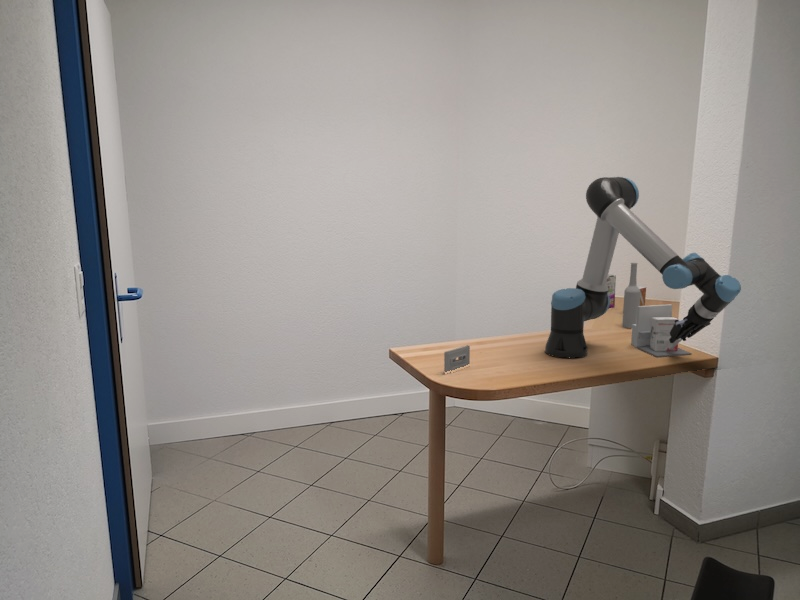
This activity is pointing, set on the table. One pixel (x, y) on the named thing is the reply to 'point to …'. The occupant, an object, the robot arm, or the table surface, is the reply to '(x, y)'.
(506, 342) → the table surface
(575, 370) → the table surface
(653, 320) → the ink box
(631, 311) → the bottle
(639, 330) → the grey display stand
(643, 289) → the small box
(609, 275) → the candy bar box
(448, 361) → the cassette
